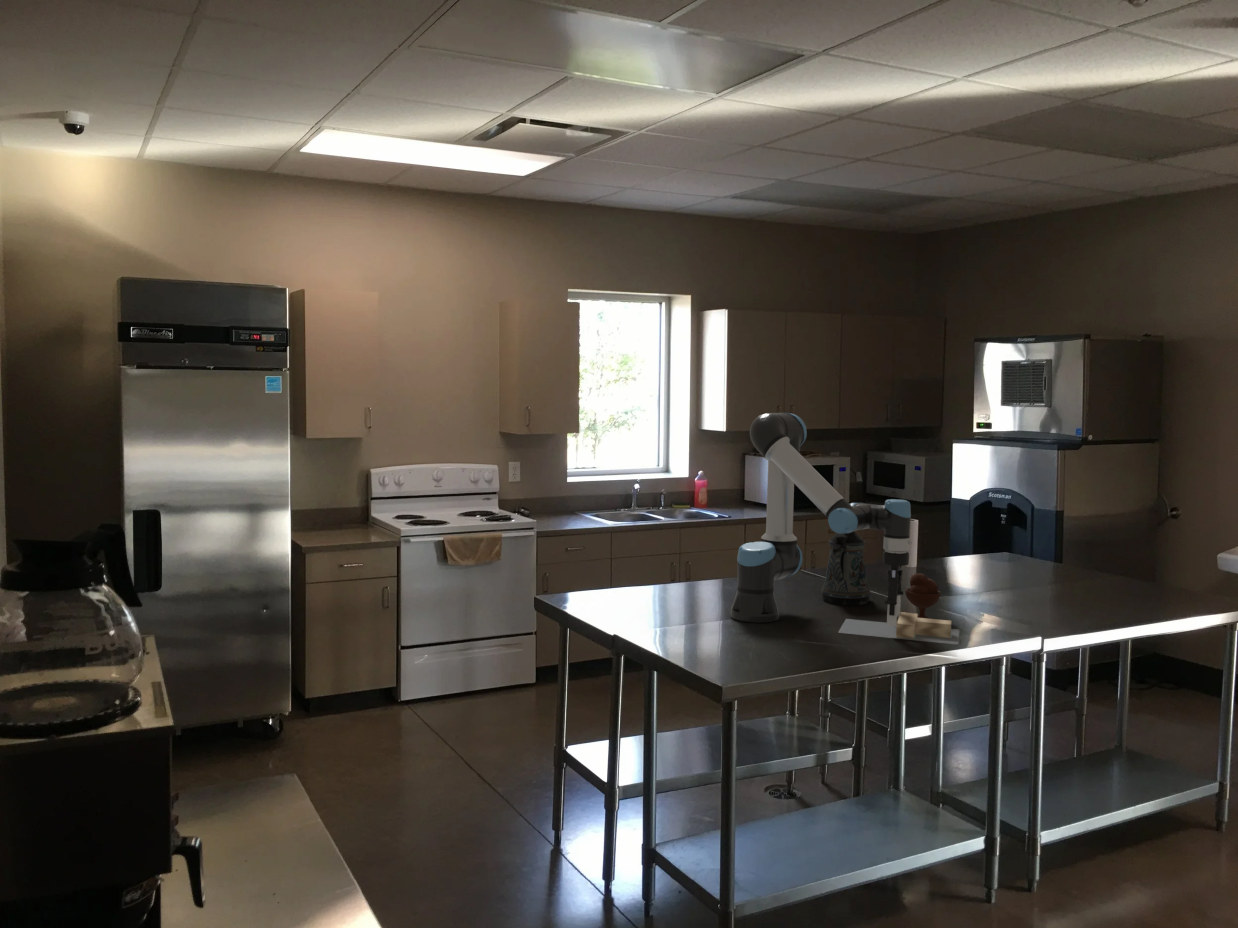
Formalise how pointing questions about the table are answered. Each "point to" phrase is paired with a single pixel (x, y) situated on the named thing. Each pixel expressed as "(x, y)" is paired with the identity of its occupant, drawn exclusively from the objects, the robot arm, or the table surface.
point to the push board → (890, 631)
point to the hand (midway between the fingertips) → (893, 620)
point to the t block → (921, 626)
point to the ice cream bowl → (922, 593)
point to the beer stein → (846, 571)
